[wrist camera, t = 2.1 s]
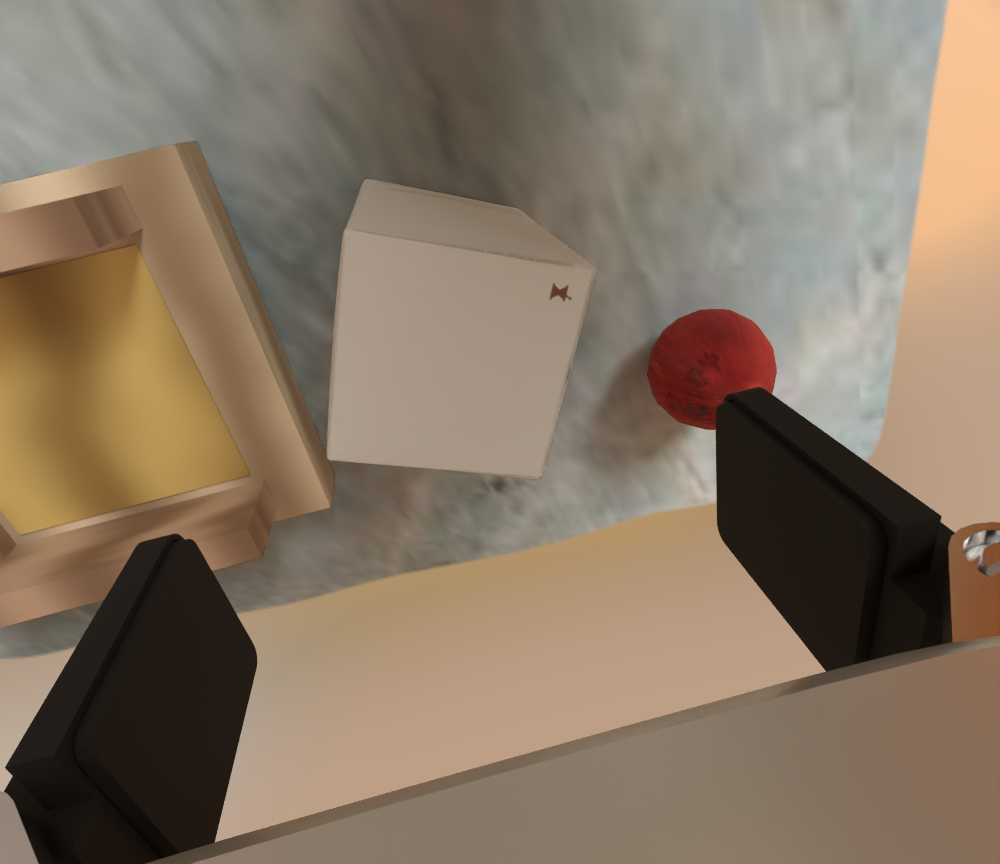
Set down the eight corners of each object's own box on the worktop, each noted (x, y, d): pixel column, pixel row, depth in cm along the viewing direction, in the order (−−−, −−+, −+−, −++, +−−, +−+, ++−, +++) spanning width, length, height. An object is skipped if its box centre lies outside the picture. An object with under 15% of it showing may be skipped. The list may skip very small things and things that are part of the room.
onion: (642, 408, 34) (707, 484, 27) (614, 320, 31) (678, 379, 24) (737, 366, 34) (827, 432, 27) (717, 273, 31) (811, 319, 24)
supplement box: (361, 173, 26) (340, 216, 15) (522, 207, 28) (609, 266, 17) (345, 333, 29) (319, 464, 18) (491, 354, 31) (547, 485, 20)
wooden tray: (196, 141, 25) (133, 149, 18) (335, 476, 33) (323, 558, 27) (-199, 233, 24) (-401, 274, 18) (45, 552, 32) (-36, 654, 26)
